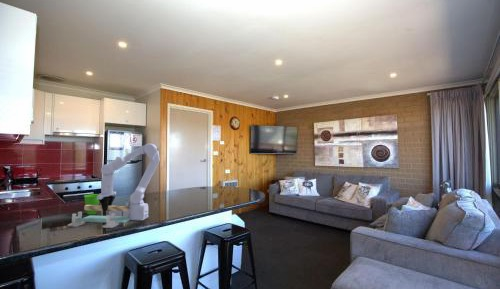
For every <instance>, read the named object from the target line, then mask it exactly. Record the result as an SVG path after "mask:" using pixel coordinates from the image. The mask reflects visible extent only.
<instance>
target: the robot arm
mask: <svg viewBox="0 0 500 289" xmlns="http://www.w3.org/2000/svg"><path fill="white" fill-rule="evenodd" d="M145 154H146V155H147V156H148V158H149V163H148V165H147V167H146V169H145V170H144V173H143V176H142V177H141V179H140V181H139V183H138V185H137V187H136V188H135V189H134V191H133V193H131V194H130V195H129V201H130V202H129V217H130V219H129V221H144V220H146V219H147V218H149V217H150V216H149V204H148V203H147V202H146V203H145V201H144V198H145V192H146V190H147V187H148V185H149V184H150V181H151V179H152V177H153V175H154V173H155V171H156V170H157V167H158V165H159V164H160V153H159V148H158V147H157V145H156V144H154V143H151V142H150V143H146V144H144V145H141V146H139V147H137V148H136V149H134V150H133V151H131V152H129V153H128V154H127V155H125V156H122V155H121V156H115V159H113V160H111V161H109V162H107V163H106V164H103V165H102V167H101V168H100V172H101V190H100V192H101V193H98V194H99V195H98V196H97V199H98V200H99V204H100V205H101V206H102V210H103V211H102V212H108V211H107V209H108V206H113V202H114V200H115V198H116V196H117V191H114V181H115V180H114V177H115V176H114V173H115V172H116V171H118V170H120V169H121V168H123V167H125V166H126V165H127V163H128V162H129V161H131V160H133V159H134V158H136V157H138V156H139V155H145Z"/></svg>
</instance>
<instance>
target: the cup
mask: <svg viewBox="0 0 500 289" xmlns="http://www.w3.org/2000/svg"><path fill="white" fill-rule="evenodd" d="M99 194H100V193H93V194H92V193H91V194H85V195H83V197H84V203H85V205H100V201H99V200H98V199H97V196H98V195H99ZM85 205H84V206H85ZM85 211H86V215H96V214H97V213H98V211H97V210H85Z"/></svg>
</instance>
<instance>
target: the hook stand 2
mask: <svg viewBox="0 0 500 289" xmlns="http://www.w3.org/2000/svg"><path fill="white" fill-rule="evenodd" d="M106 216H107V219H106V223H104V224H103V225H102V226H101V228H104V229H113V228H115V227H117V226H118V225H120V223H116V222H115V216H116V212H111V214H107V215H106Z"/></svg>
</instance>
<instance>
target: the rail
mask: <svg viewBox="0 0 500 289" xmlns="http://www.w3.org/2000/svg"><path fill="white" fill-rule="evenodd" d="M83 206H84V207H83V209H84V211H86V210H97V212H98V211H99V212H101V211H102V212H104V211H103V210H102V206H101V204H99V205H83ZM106 212H130V205H129V206H128V205H111V206H108V209H107V211H106Z"/></svg>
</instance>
